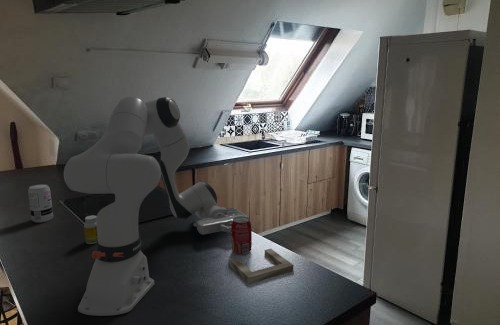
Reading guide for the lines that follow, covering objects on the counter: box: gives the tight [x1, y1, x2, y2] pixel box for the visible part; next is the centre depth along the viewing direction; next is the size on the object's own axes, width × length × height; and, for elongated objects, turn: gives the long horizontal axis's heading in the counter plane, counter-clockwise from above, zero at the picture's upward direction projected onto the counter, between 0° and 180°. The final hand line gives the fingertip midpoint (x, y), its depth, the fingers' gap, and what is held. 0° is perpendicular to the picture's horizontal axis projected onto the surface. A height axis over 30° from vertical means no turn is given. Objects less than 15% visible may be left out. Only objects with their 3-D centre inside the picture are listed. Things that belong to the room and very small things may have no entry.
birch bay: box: [228, 248, 294, 285], centre depth 119 cm, size 14×16×2 cm
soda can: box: [230, 216, 253, 256], centre depth 129 cm, size 7×7×12 cm
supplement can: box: [27, 183, 54, 224], centre depth 160 cm, size 8×8×15 cm
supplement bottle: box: [83, 215, 98, 245], centre depth 138 cm, size 5×5×10 cm
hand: (231, 230), depth 136 cm, fingers closed
